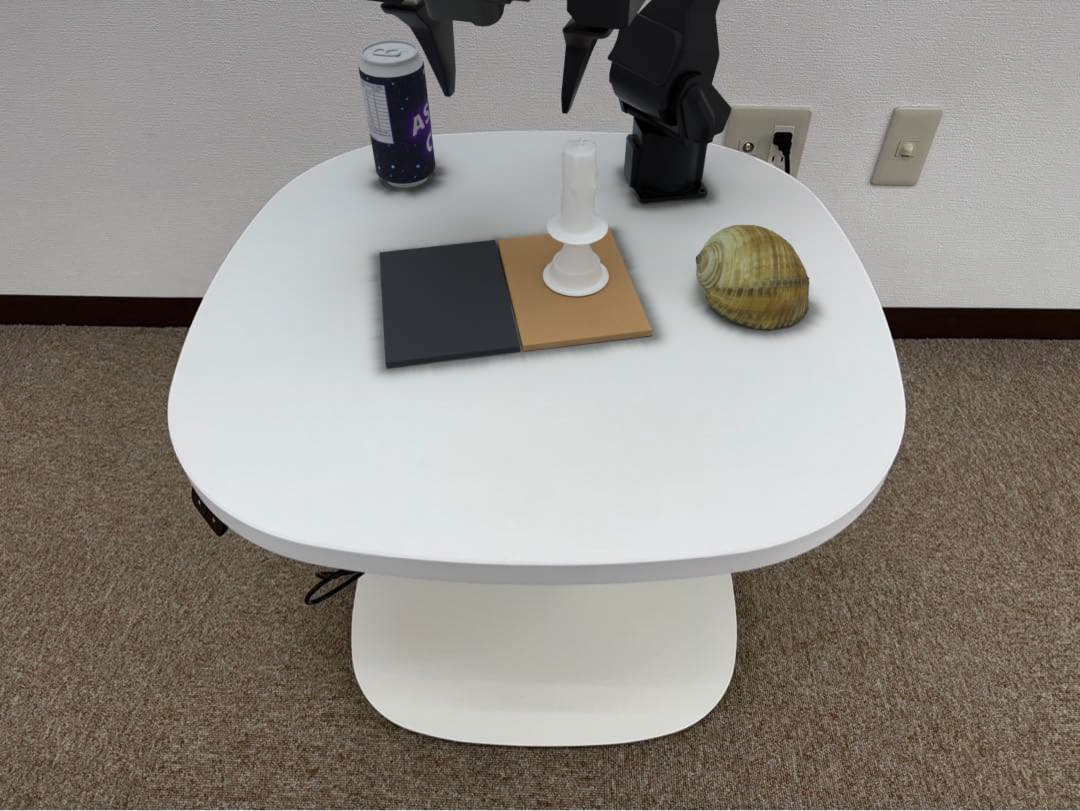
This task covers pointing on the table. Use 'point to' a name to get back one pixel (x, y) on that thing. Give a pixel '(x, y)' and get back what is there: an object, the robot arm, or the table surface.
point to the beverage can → (397, 112)
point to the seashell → (753, 277)
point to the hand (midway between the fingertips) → (507, 103)
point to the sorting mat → (498, 301)
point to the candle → (577, 225)
